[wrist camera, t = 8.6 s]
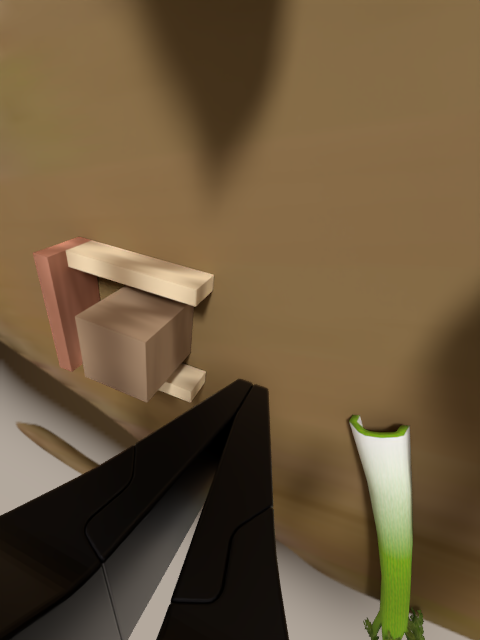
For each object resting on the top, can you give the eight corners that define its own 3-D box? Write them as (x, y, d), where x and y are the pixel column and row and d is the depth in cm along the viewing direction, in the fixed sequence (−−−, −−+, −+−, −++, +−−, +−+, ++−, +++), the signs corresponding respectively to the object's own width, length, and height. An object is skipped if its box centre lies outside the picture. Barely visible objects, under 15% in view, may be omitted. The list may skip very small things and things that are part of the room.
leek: (434, 401, 23) (436, 646, 33) (334, 388, 26) (364, 612, 37) (431, 466, 18) (434, 729, 28) (310, 440, 22) (352, 680, 32)
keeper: (194, 298, 23) (145, 342, 18) (190, 352, 26) (147, 402, 21) (135, 279, 24) (74, 316, 20) (138, 332, 27) (85, 376, 22)
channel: (214, 274, 22) (184, 300, 18) (204, 382, 27) (180, 416, 24) (79, 236, 24) (32, 252, 21) (95, 341, 30) (60, 366, 27)
